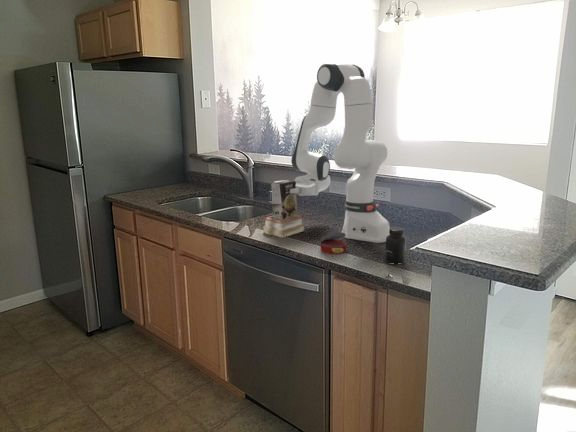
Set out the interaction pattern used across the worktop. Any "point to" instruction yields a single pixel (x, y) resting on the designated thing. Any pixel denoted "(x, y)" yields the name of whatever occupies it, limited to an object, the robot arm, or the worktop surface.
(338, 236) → the canned food
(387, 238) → the supplement bottle
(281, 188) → the coffee box
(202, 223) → the worktop surface
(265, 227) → the tower base
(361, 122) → the robot arm
